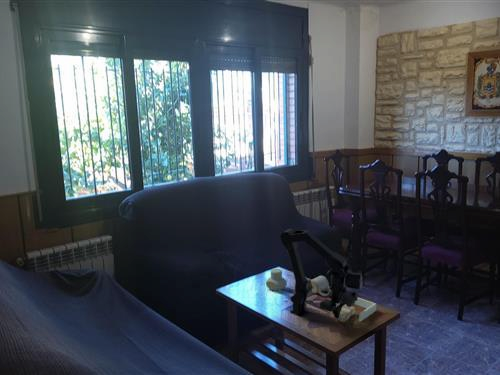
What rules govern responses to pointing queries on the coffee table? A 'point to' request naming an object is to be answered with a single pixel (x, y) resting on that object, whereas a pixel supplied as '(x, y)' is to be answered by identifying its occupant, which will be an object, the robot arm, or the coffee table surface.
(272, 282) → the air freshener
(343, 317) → the tile
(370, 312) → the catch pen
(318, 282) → the ceramic mug
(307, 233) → the robot arm
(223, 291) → the coffee table surface
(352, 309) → the tile
